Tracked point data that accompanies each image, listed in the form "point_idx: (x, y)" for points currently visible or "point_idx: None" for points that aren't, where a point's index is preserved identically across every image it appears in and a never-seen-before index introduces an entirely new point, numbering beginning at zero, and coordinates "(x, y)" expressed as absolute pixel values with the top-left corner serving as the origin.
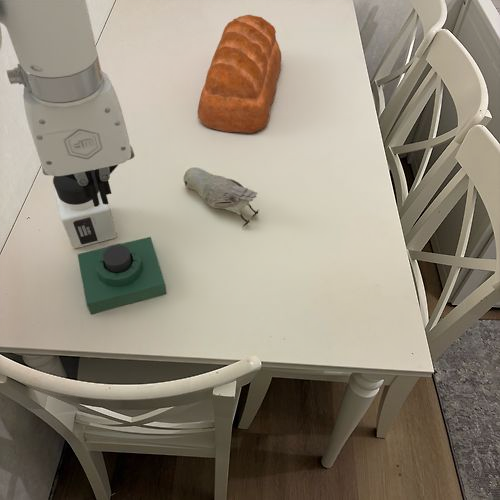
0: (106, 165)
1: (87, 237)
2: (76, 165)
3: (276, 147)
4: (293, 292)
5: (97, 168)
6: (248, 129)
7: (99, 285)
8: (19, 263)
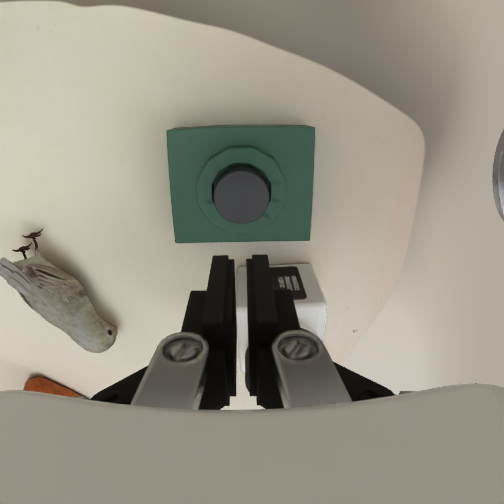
0: (99, 417)
1: (285, 273)
2: (363, 476)
3: (14, 347)
4: (5, 101)
5: (178, 415)
6: (43, 382)
7: (285, 160)
8: (386, 258)
